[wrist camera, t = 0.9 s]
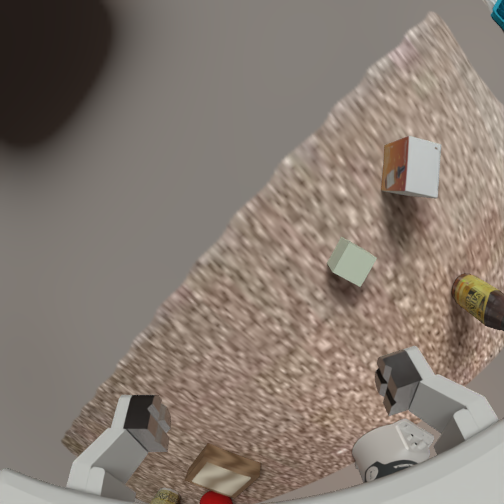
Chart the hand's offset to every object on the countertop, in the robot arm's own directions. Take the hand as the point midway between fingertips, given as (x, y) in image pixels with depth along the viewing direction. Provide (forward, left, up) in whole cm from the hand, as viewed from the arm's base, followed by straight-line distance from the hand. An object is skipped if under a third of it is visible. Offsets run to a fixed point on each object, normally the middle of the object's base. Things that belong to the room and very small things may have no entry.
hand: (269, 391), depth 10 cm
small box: (-13, -19, -40) cm, 46 cm away
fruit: (-21, +72, -40) cm, 85 cm away
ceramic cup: (-9, +85, -40) cm, 94 cm away
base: (-16, +57, -40) cm, 71 cm away
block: (-12, -2, -40) cm, 42 cm away
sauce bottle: (-37, -8, -40) cm, 55 cm away
